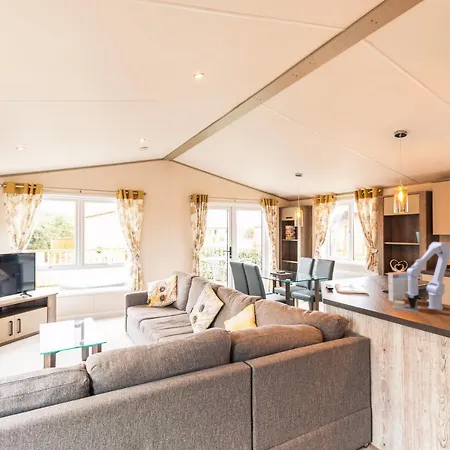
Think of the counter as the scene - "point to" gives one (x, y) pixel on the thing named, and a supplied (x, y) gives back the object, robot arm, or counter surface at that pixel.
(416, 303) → the walnut block
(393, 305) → the building mat
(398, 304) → the beech slab
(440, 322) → the counter surface
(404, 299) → the cracker box
